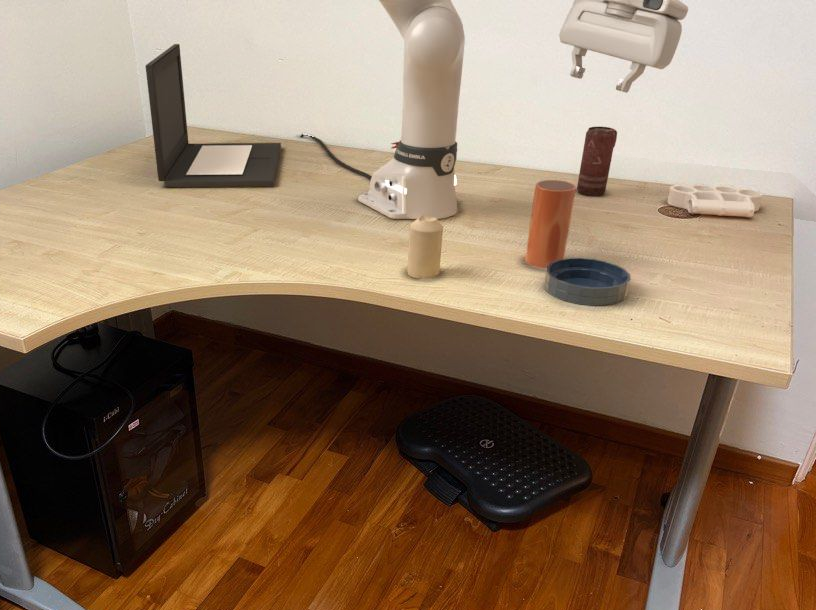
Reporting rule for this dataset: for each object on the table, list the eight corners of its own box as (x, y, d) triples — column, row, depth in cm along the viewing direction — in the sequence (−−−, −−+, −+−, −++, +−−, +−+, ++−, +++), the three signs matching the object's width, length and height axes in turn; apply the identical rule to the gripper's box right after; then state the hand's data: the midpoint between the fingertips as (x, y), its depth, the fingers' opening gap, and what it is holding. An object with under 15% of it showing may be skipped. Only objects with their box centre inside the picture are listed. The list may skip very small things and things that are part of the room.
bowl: (527, 289, 126) (530, 270, 124) (574, 270, 132) (578, 252, 131) (595, 315, 117) (599, 295, 115) (642, 294, 124) (646, 274, 122)
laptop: (273, 187, 178) (268, 63, 164) (158, 187, 178) (144, 65, 165) (281, 148, 210) (277, 42, 196) (183, 149, 210) (173, 43, 197)
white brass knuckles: (673, 216, 157) (663, 195, 169) (769, 222, 153) (751, 200, 165) (677, 200, 155) (666, 180, 168) (774, 205, 152) (756, 185, 164)
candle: (404, 268, 134) (407, 213, 129) (435, 267, 134) (439, 211, 129) (410, 280, 129) (414, 223, 124) (442, 279, 130) (447, 222, 125)
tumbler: (517, 262, 136) (527, 184, 129) (540, 253, 139) (551, 177, 132) (547, 273, 131) (560, 193, 124) (570, 264, 135) (584, 185, 128)
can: (607, 197, 169) (620, 132, 161) (577, 195, 170) (588, 131, 163) (604, 189, 174) (616, 126, 167) (575, 188, 175) (585, 125, 168)
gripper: (570, -19, 128) (539, 67, 134) (679, 2, 115) (639, 97, 121) (590, -11, 132) (560, 72, 138) (698, 10, 118) (659, 102, 125)
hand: (597, 84), depth 129 cm, fingers open, 8 cm apart
